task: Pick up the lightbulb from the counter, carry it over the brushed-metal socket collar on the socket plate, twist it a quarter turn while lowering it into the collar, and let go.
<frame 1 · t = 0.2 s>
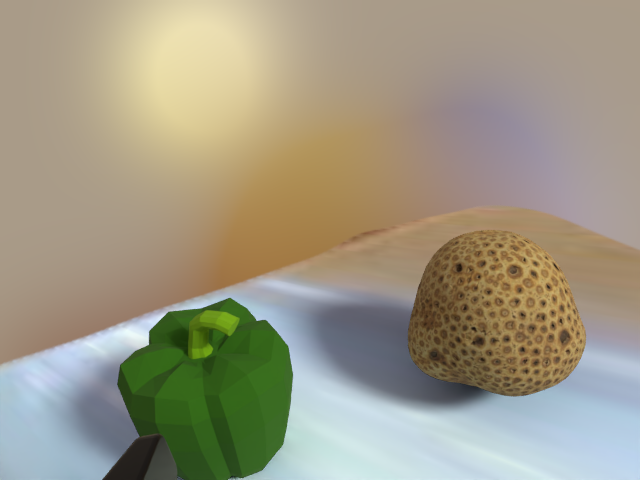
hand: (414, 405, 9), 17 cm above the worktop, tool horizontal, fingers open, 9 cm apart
bell pepper: (230, 449, 29), on the worktop
natural sponge: (490, 384, 31), on the worktop
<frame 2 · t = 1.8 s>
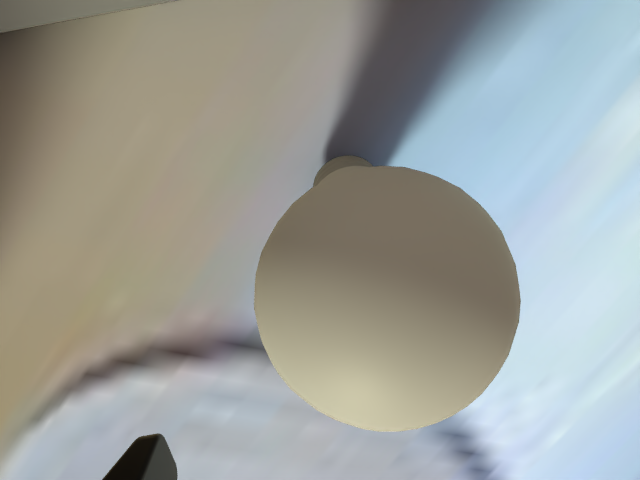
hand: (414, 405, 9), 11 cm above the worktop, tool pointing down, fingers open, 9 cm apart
lightbulb: (343, 179, 19), on the worktop
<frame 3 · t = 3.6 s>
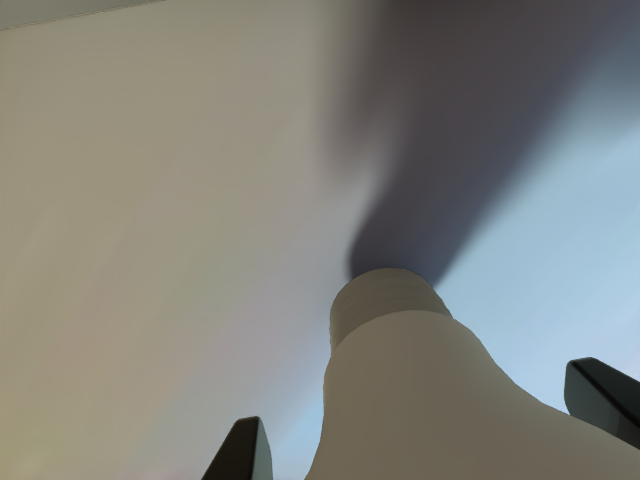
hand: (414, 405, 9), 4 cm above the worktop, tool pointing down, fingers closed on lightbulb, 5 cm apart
lightbulb: (376, 291, 12), on the worktop, touching gripper
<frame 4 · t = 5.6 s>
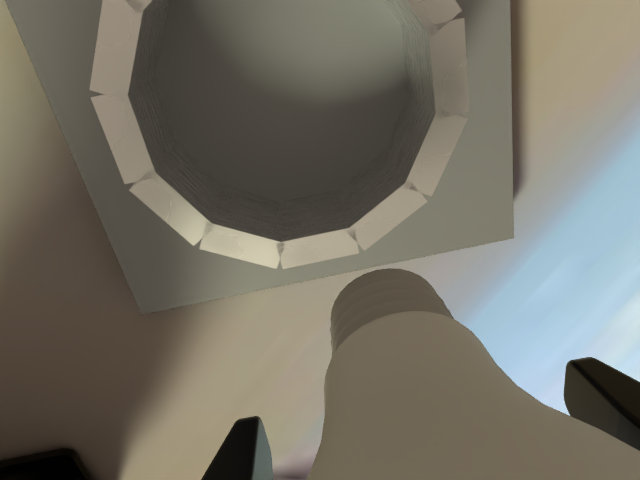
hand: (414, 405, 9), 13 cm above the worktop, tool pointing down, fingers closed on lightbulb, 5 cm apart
lightbulb: (377, 292, 12), point 9 cm above the worktop, touching gripper
socket collar: (285, 93, 16), on the socket plate, point 3 cm above the worktop
socket plate: (284, 77, 19), on the worktop
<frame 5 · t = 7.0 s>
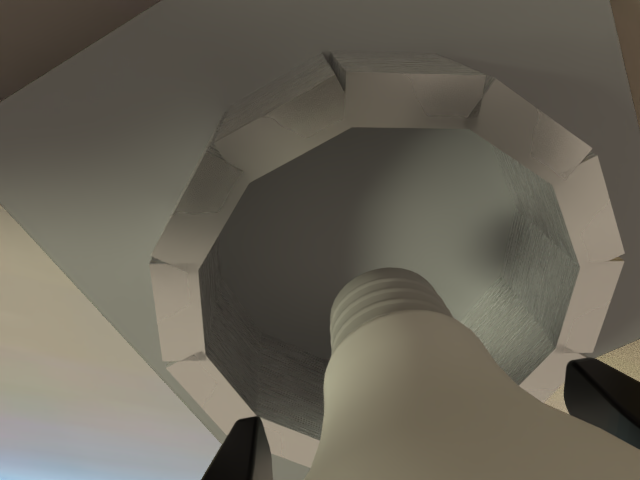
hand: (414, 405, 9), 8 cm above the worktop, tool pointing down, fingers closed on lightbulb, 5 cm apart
lightbulb: (377, 291, 12), point 4 cm above the worktop, touching gripper
socket collar: (376, 273, 13), on the socket plate, point 3 cm above the worktop
socket plate: (359, 221, 16), on the worktop
when the fingers open (6 cm above the worktop, at t = 8.1 s): lightbulb drops 1 cm, resting on socket plate.
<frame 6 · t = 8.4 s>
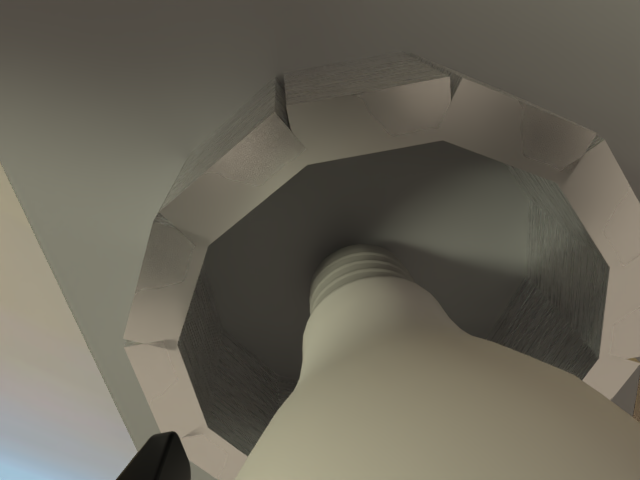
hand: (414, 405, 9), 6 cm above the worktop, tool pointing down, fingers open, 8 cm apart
lightbulb: (352, 268, 14), point 1 cm above the worktop, touching socket plate
socket collar: (382, 303, 12), on the socket plate, point 3 cm above the worktop
socket plate: (361, 241, 15), on the worktop
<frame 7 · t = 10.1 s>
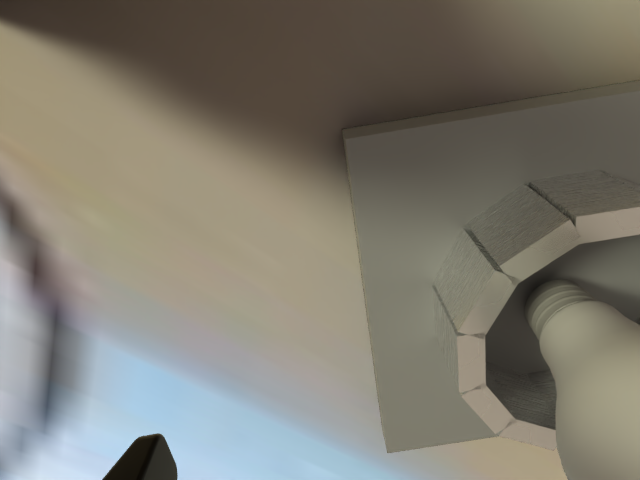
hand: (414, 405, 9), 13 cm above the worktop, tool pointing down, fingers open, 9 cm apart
lightbulb: (543, 292, 22), point 1 cm above the worktop, touching socket plate
socket collar: (577, 315, 20), on the socket plate, point 3 cm above the worktop
socket plate: (540, 274, 23), on the worktop
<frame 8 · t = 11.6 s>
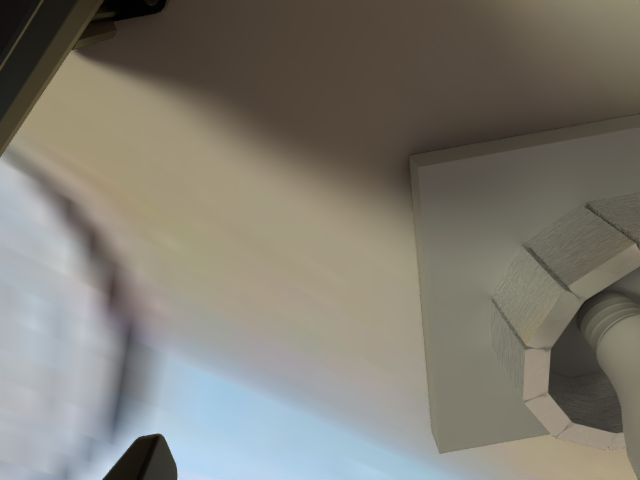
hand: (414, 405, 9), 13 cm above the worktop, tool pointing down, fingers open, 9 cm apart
lightbulb: (592, 302, 23), point 1 cm above the worktop, touching socket plate
socket collar: (628, 325, 21), on the socket plate, point 3 cm above the worktop
socket plate: (586, 284, 24), on the worktop
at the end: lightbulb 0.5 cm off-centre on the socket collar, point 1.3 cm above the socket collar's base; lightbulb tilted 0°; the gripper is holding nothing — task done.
